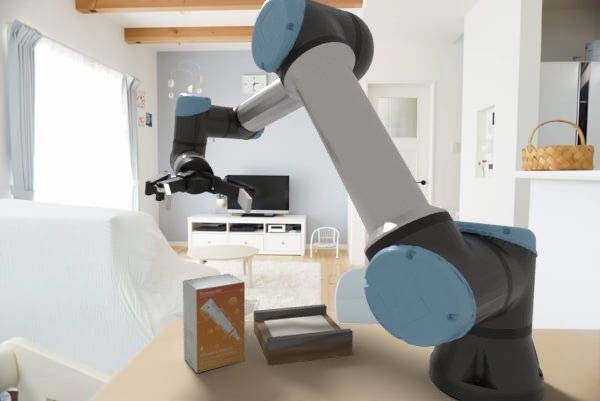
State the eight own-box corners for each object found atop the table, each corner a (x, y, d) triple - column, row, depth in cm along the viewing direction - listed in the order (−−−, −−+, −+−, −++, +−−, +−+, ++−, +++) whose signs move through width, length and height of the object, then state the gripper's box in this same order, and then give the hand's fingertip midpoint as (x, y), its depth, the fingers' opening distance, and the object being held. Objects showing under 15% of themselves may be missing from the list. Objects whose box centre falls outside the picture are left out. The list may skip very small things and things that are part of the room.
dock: (352, 354, 69) (352, 331, 69) (269, 365, 66) (268, 340, 65) (324, 323, 83) (324, 304, 83) (253, 331, 79) (253, 310, 79)
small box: (197, 375, 63) (195, 289, 62) (183, 358, 68) (181, 279, 67) (246, 361, 67) (245, 281, 66) (229, 346, 72) (228, 272, 71)
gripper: (247, 193, 96) (276, 227, 77) (129, 186, 86) (129, 223, 67) (252, 161, 94) (282, 187, 75) (131, 150, 84) (132, 178, 65)
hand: (210, 204), depth 71 cm, fingers open, 13 cm apart
